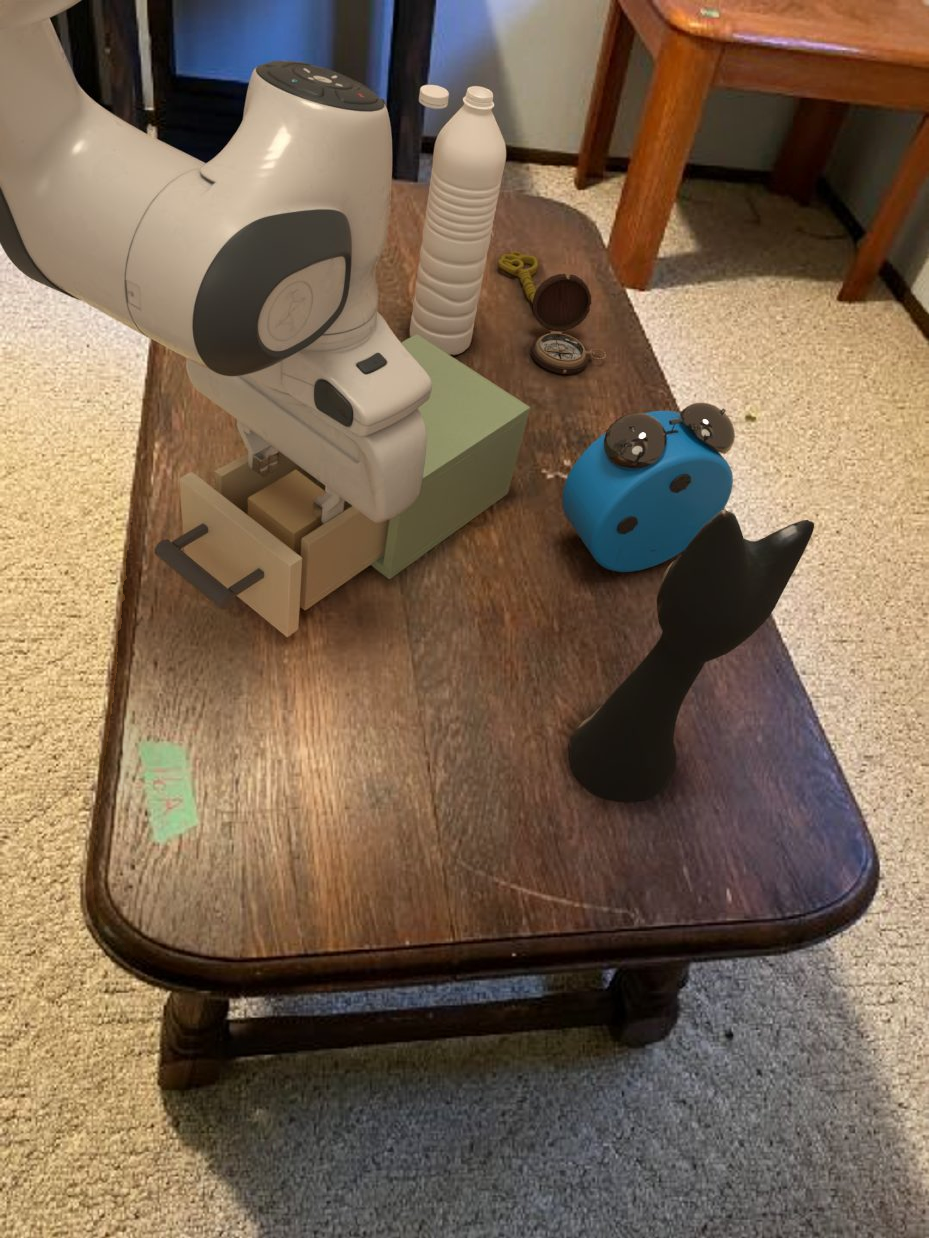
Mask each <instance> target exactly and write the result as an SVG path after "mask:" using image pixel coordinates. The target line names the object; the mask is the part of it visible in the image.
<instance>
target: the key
mask: <svg viewBox="0 0 929 1238" xmlns="http://www.w3.org/2000/svg"><path fill="white" fill-rule="evenodd" d="M526 264H527V265H531V266H530V267H528V268H524V267H525V265H526ZM497 266H498V268H500V269H501V270H503V271H504V272H506V273H508V274H509V275H512V276H513V277H516V278H518V279H519V281H520V283H521V285H522V287H523V290H524V293H525V296H526V298H527V300H528V301H530V302H531V304H532V303H533V298H534V294H535V292H536V290H537V287H536V286H535V283H534V281H533V278H532V276H534V275H535V274H536V273H537V271H538V267H539V260H538V258H537V257H535V256H534V255H531V254H523V253H521V251H518V250H512V251H511V252H510V253H504V254H502V255H501V256H500V258H499V260H498V261H497Z"/></svg>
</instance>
